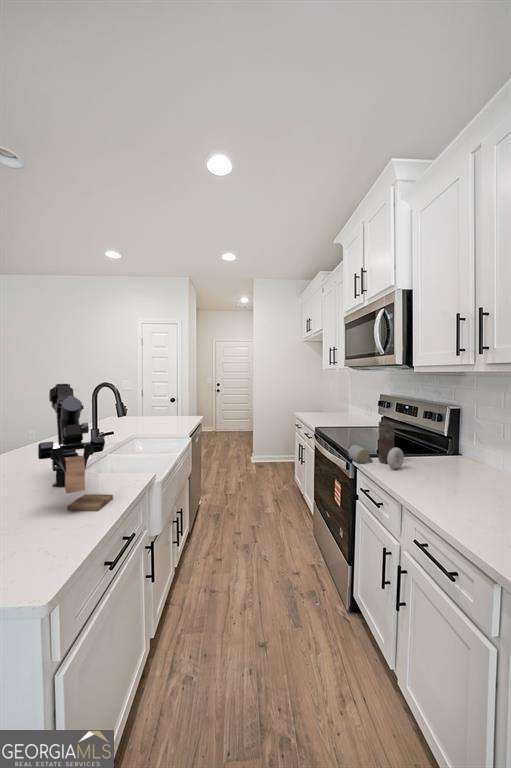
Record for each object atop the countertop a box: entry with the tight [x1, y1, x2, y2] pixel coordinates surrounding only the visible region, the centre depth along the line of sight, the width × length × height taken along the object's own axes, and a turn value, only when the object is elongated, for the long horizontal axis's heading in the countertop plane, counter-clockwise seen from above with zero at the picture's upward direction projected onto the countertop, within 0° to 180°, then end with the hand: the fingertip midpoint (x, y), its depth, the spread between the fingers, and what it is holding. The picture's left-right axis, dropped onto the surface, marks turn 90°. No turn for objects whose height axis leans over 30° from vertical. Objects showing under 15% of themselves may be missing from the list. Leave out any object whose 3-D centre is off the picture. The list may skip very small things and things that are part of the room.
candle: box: [378, 421, 395, 464], centre depth 163 cm, size 8×7×20 cm
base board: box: [66, 493, 114, 512], centre depth 110 cm, size 10×10×2 cm
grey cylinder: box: [348, 444, 373, 464], centre depth 164 cm, size 11×8×8 cm
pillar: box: [64, 455, 86, 495], centre depth 104 cm, size 5×5×10 cm
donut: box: [387, 446, 405, 470], centre depth 151 cm, size 10×4×10 cm, turn 124°
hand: (75, 470), depth 103 cm, fingers closed on pillar, 5 cm apart
